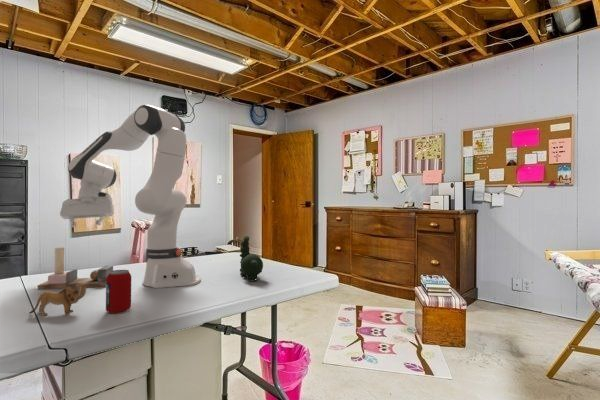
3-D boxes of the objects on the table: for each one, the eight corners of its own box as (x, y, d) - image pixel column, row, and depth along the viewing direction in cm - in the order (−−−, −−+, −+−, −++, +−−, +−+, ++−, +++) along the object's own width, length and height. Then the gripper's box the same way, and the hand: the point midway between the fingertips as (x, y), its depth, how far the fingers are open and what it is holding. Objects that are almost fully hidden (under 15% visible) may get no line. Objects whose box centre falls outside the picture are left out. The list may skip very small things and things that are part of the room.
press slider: (77, 278, 135) (78, 246, 135) (68, 283, 127) (69, 249, 128) (58, 279, 134) (58, 246, 134) (47, 284, 126) (48, 249, 126)
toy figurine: (234, 276, 156) (244, 284, 133) (234, 236, 158) (244, 236, 135) (254, 275, 160) (267, 282, 136) (254, 235, 161) (266, 236, 138)
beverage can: (112, 307, 104) (112, 269, 104) (134, 307, 105) (135, 269, 105) (101, 314, 97) (101, 273, 98) (125, 314, 98) (125, 273, 98)
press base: (116, 280, 139) (116, 265, 139) (108, 286, 130) (108, 269, 130) (51, 282, 134) (51, 266, 134) (37, 289, 124) (37, 271, 124)
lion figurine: (88, 309, 103) (89, 279, 103) (82, 314, 98) (82, 284, 98) (33, 312, 99) (33, 282, 99) (23, 318, 94) (23, 286, 94)
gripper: (60, 195, 145) (54, 224, 138) (112, 193, 150) (109, 220, 143) (66, 203, 150) (61, 230, 143) (116, 200, 155) (113, 227, 149)
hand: (85, 225), depth 143 cm, fingers open, 8 cm apart
